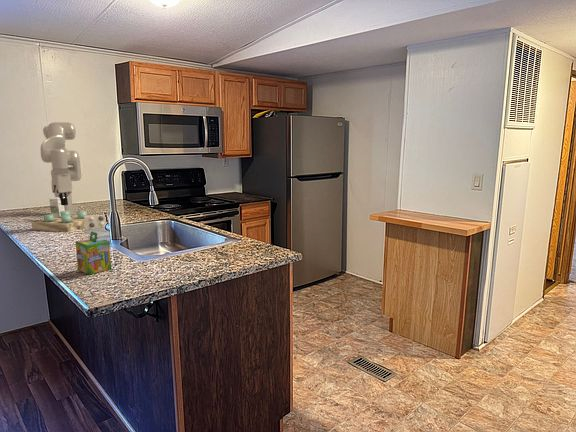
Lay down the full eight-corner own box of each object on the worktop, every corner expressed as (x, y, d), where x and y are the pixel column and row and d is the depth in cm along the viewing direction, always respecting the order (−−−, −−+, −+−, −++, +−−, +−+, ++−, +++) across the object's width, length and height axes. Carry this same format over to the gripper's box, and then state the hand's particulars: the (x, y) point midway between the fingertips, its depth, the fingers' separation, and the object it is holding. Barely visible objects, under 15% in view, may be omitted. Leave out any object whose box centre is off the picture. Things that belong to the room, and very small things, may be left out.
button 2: (65, 217, 245) (64, 210, 244) (71, 217, 243) (71, 210, 243) (59, 218, 240) (58, 212, 239) (65, 219, 239) (65, 212, 238)
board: (65, 221, 250) (64, 215, 249) (98, 223, 243) (98, 216, 243) (32, 229, 227) (31, 222, 226) (67, 232, 221) (67, 224, 220)
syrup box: (66, 219, 256) (63, 196, 253) (60, 221, 250) (57, 198, 247) (57, 219, 256) (55, 196, 254) (51, 221, 251) (48, 197, 248)
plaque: (85, 228, 229) (84, 216, 228) (108, 226, 234) (107, 214, 233) (85, 228, 228) (84, 216, 226) (108, 226, 233) (107, 214, 231)
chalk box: (77, 270, 155) (73, 233, 152) (101, 265, 162) (97, 228, 159) (88, 275, 150) (84, 236, 147) (112, 269, 157) (109, 232, 154)
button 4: (82, 217, 241) (81, 211, 241) (88, 218, 240) (88, 211, 240) (75, 219, 237) (75, 212, 236) (82, 219, 236) (82, 213, 235)
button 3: (66, 221, 230) (65, 215, 229) (73, 222, 229) (72, 215, 228) (59, 223, 226) (58, 216, 225) (66, 224, 224) (66, 216, 224)
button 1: (49, 221, 233) (48, 214, 232) (55, 221, 232) (55, 214, 231) (42, 222, 229) (41, 215, 228) (49, 223, 227) (48, 216, 227)
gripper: (65, 171, 230) (69, 203, 233) (43, 172, 216) (48, 207, 219) (76, 171, 228) (80, 203, 231) (55, 172, 214) (59, 207, 217)
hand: (64, 205), depth 225 cm, fingers closed
